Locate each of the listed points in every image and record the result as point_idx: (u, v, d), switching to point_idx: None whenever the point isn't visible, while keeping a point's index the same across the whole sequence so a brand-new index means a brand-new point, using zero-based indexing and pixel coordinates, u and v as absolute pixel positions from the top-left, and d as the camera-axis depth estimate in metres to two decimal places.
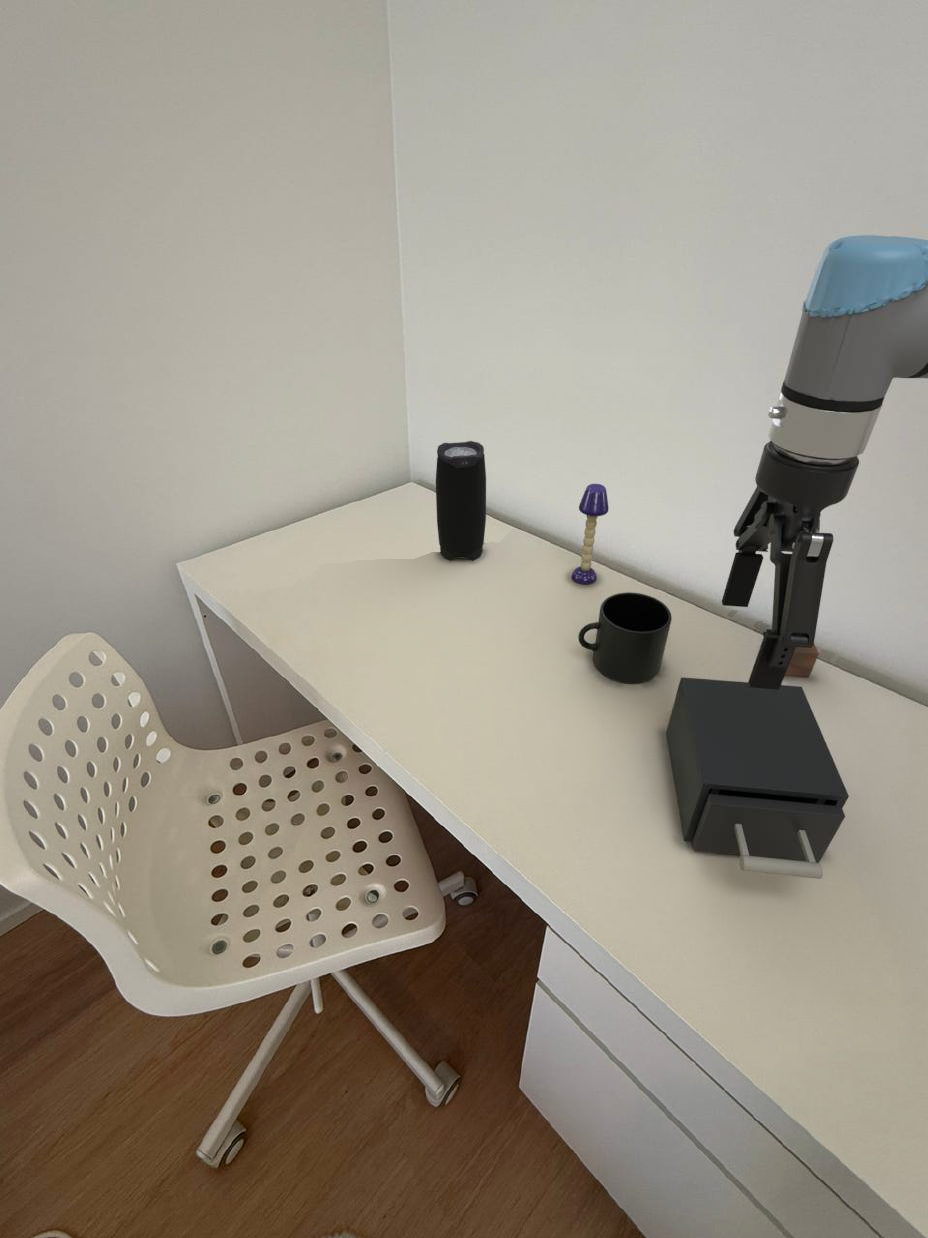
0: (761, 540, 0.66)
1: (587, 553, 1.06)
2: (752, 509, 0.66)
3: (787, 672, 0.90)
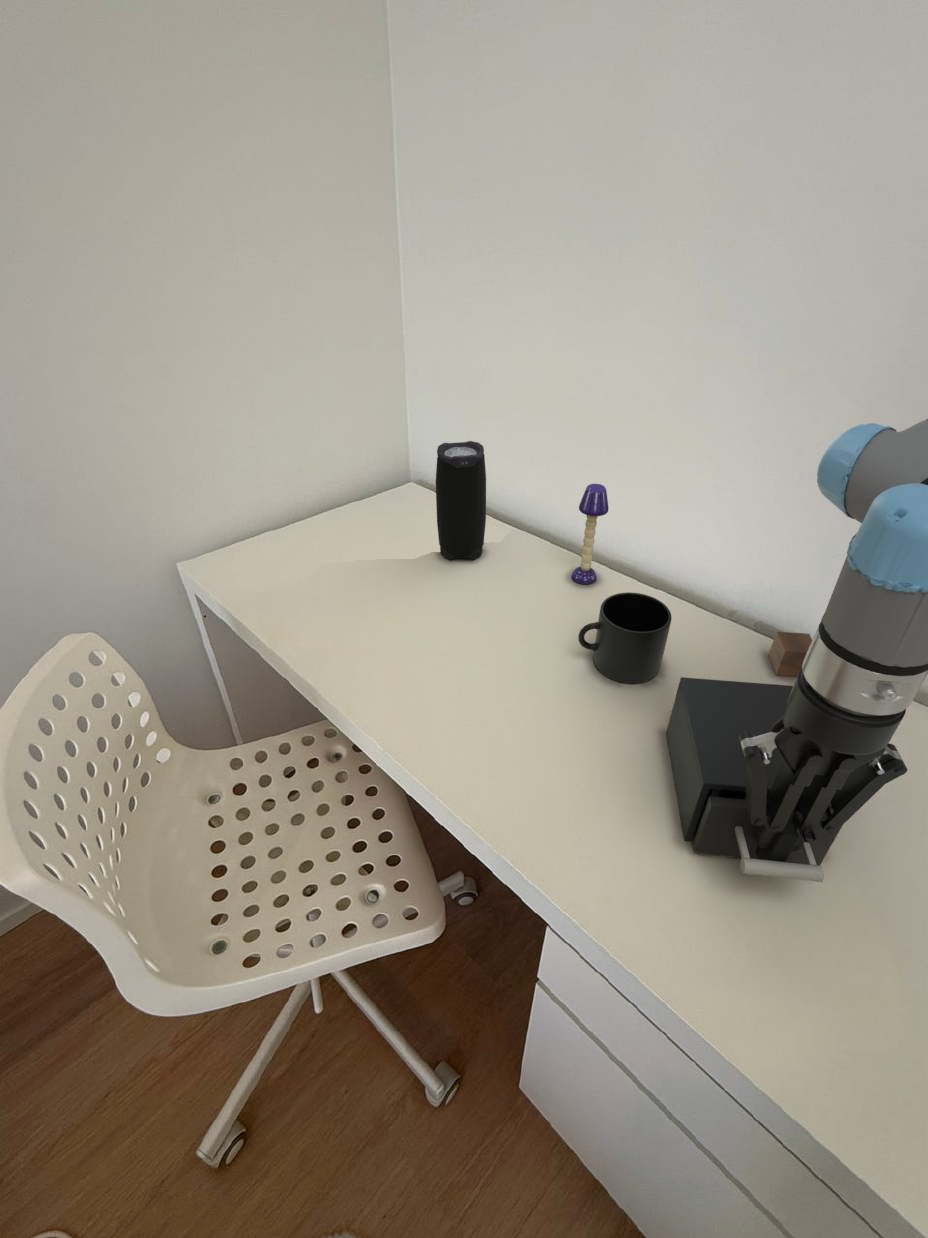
0: None
1: (587, 553, 1.06)
2: (766, 785, 0.55)
3: (787, 672, 0.90)
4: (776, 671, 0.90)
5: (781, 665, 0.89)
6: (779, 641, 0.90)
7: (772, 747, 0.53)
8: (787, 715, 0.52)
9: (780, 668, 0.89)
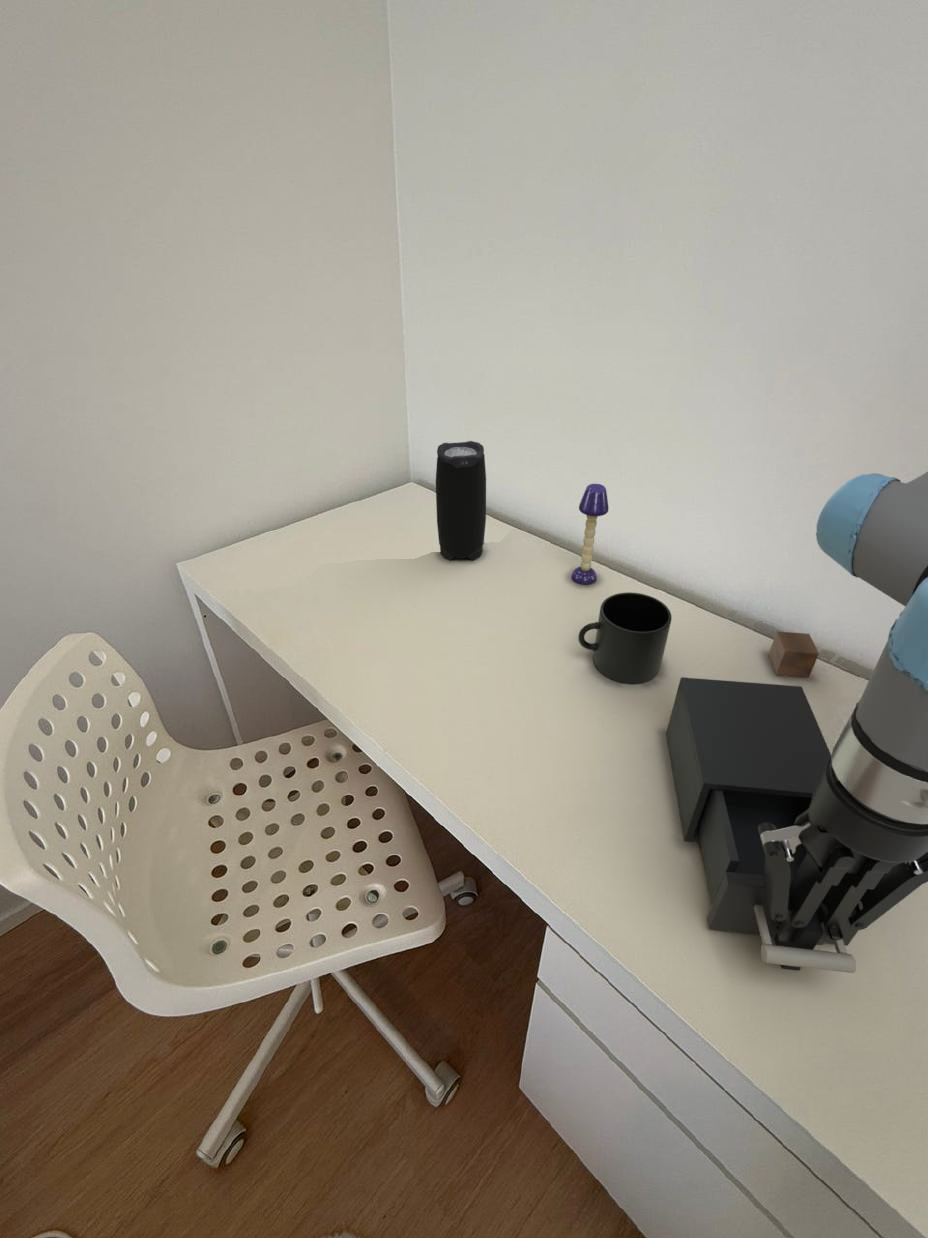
0: None
1: (587, 553, 1.06)
2: None
3: (787, 672, 0.90)
4: (776, 671, 0.90)
5: (781, 665, 0.89)
6: (779, 641, 0.90)
7: (796, 843, 0.48)
8: (813, 810, 0.46)
9: (780, 668, 0.89)
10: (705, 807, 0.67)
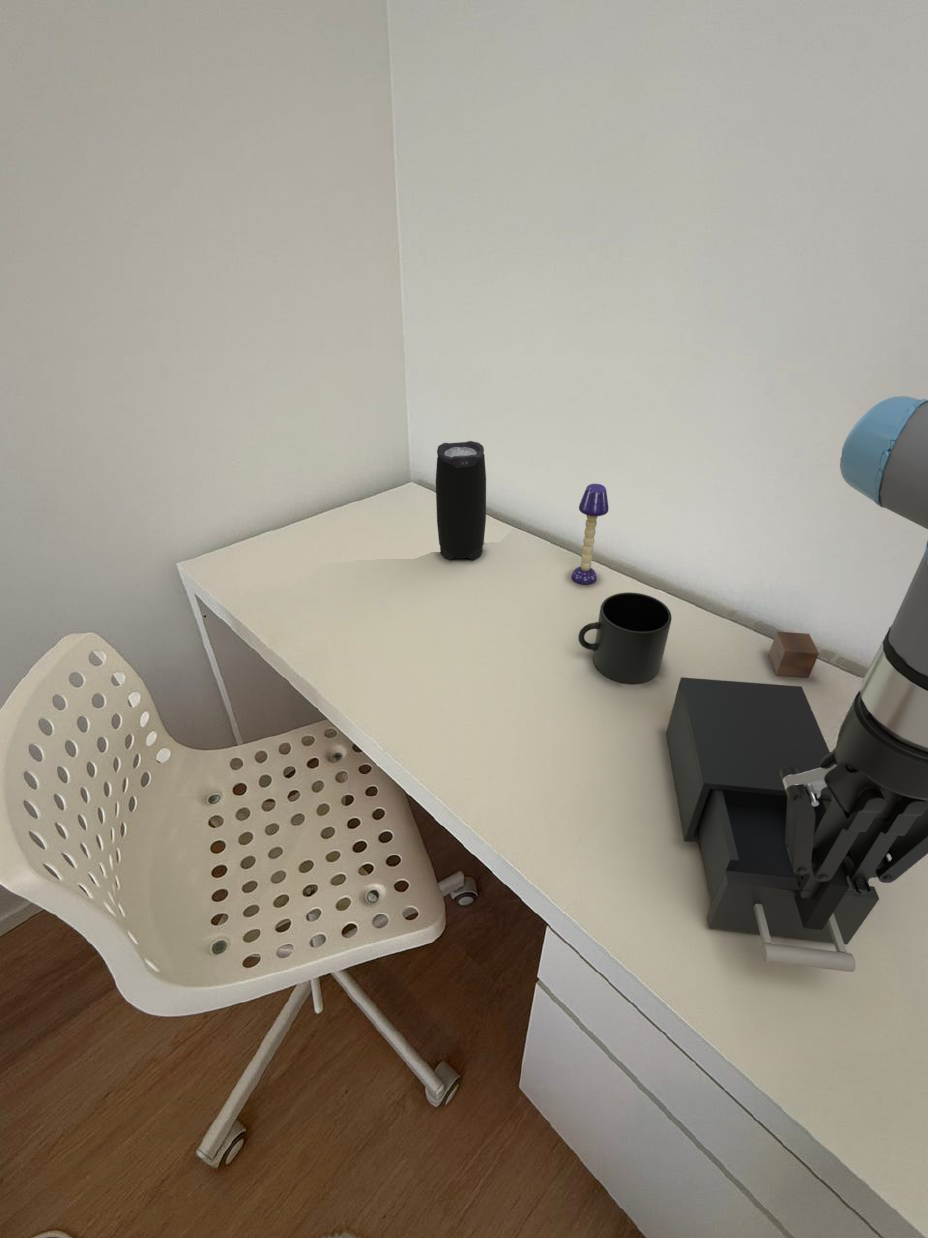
0: None
1: (587, 553, 1.06)
2: None
3: (787, 672, 0.90)
4: (776, 671, 0.90)
5: (781, 665, 0.89)
6: (779, 641, 0.90)
7: (822, 786, 0.45)
8: (841, 749, 0.43)
9: (780, 668, 0.89)
10: (705, 806, 0.67)
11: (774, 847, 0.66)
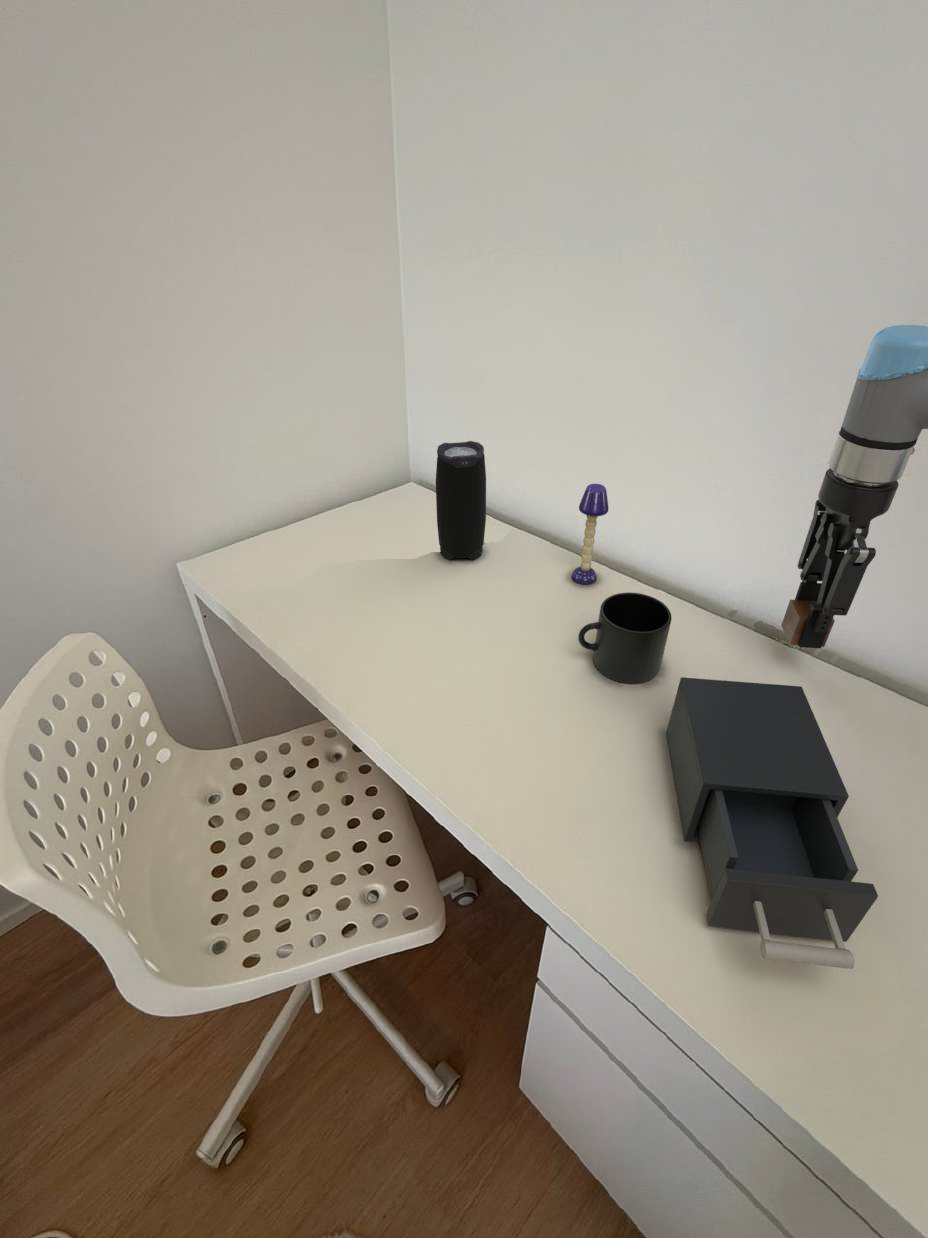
0: None
1: (587, 553, 1.06)
2: None
3: None
4: (790, 640, 0.87)
5: (795, 634, 0.86)
6: (793, 608, 0.86)
7: None
8: (864, 517, 0.73)
9: (794, 637, 0.86)
10: (704, 804, 0.67)
11: (773, 845, 0.66)
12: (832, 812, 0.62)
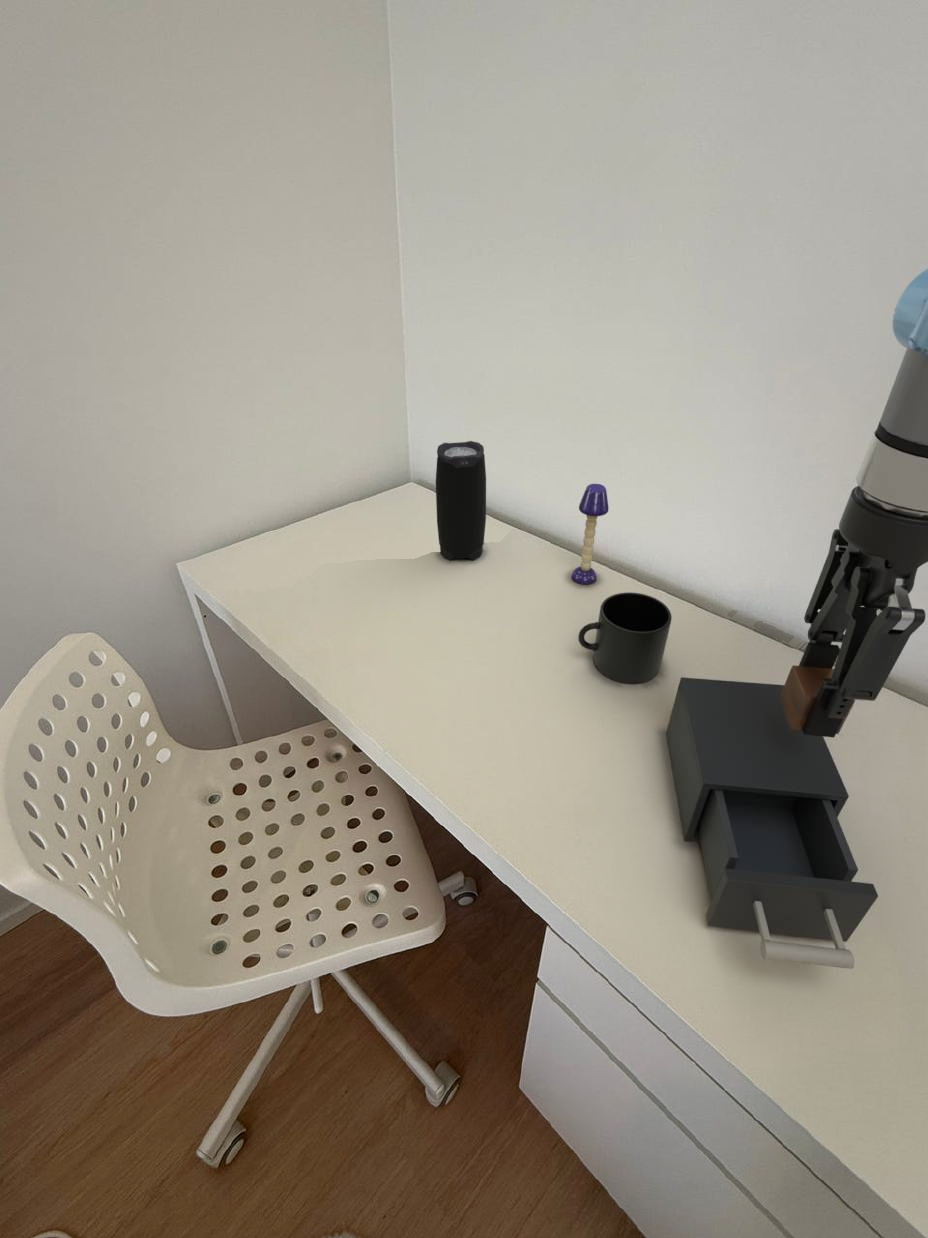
0: None
1: (587, 553, 1.06)
2: None
3: None
4: (791, 723, 0.62)
5: (799, 716, 0.61)
6: (796, 679, 0.61)
7: None
8: (908, 562, 0.49)
9: (797, 720, 0.61)
10: (704, 804, 0.67)
11: (773, 845, 0.66)
12: (832, 812, 0.62)
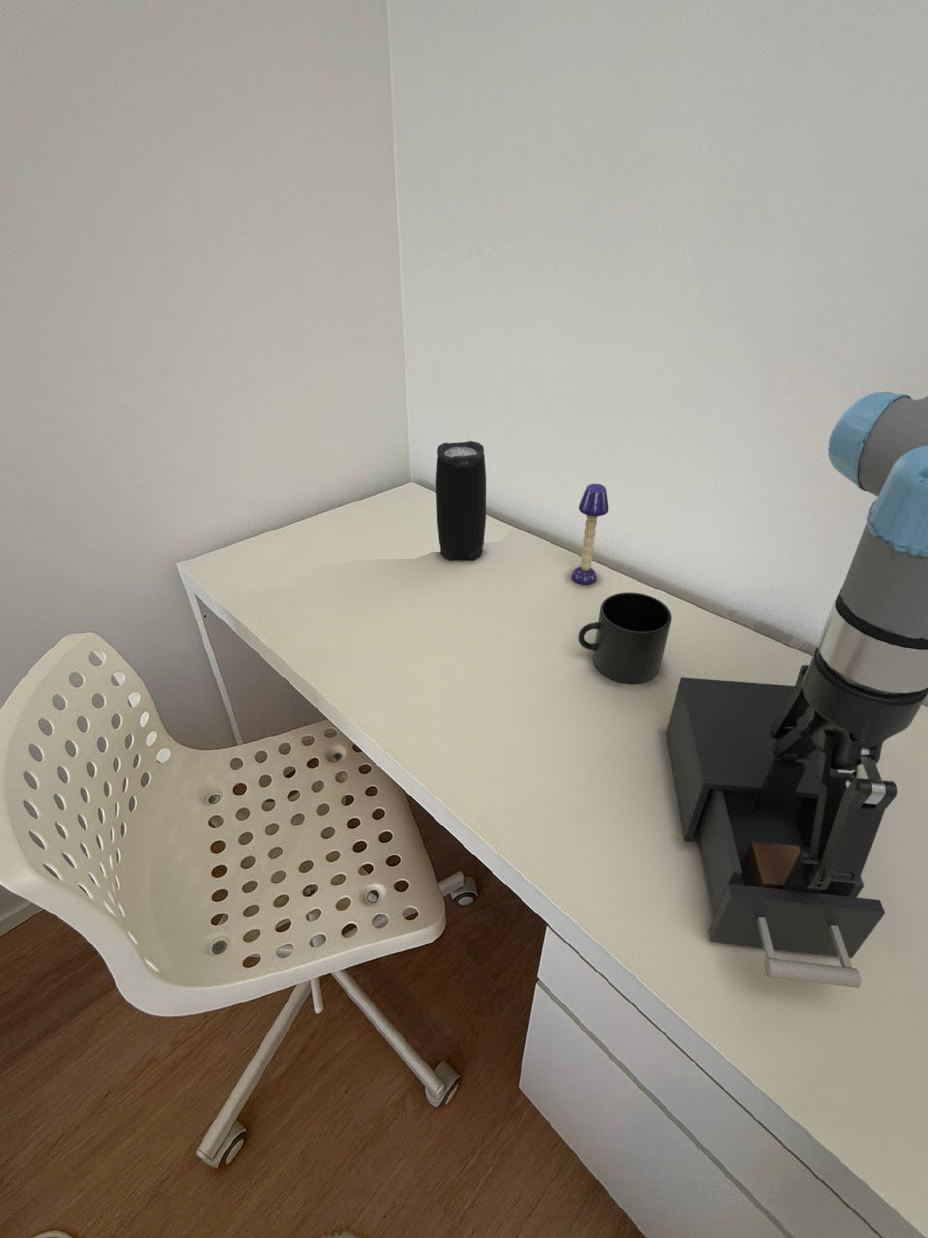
0: None
1: (587, 553, 1.06)
2: None
3: None
4: None
5: None
6: (755, 860, 0.60)
7: None
8: (873, 736, 0.46)
9: None
10: (707, 816, 0.66)
11: None
12: None
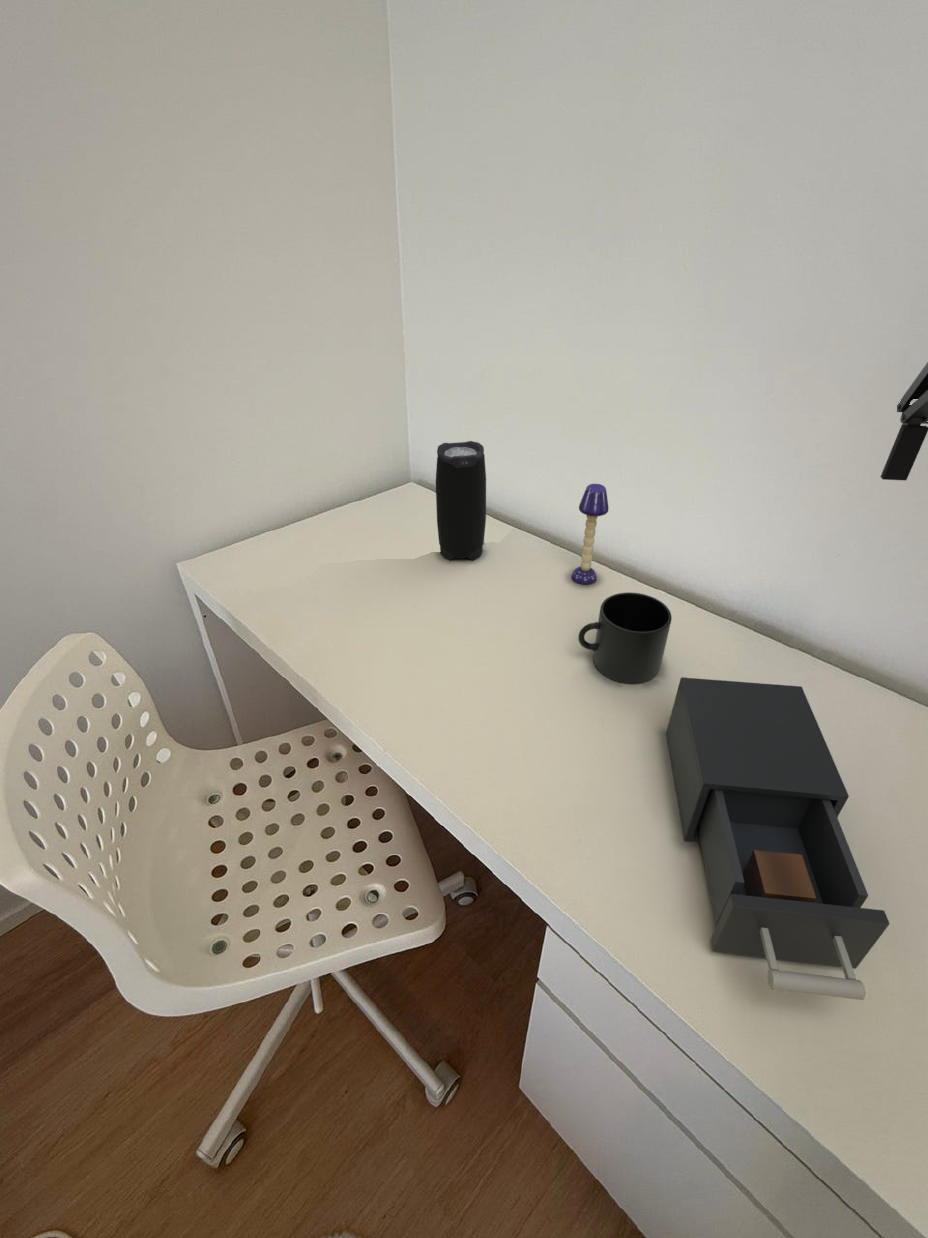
0: None
1: (587, 553, 1.06)
2: None
3: None
4: None
5: None
6: (757, 869, 0.60)
7: None
8: None
9: None
10: (709, 824, 0.65)
11: None
12: (841, 834, 0.60)
